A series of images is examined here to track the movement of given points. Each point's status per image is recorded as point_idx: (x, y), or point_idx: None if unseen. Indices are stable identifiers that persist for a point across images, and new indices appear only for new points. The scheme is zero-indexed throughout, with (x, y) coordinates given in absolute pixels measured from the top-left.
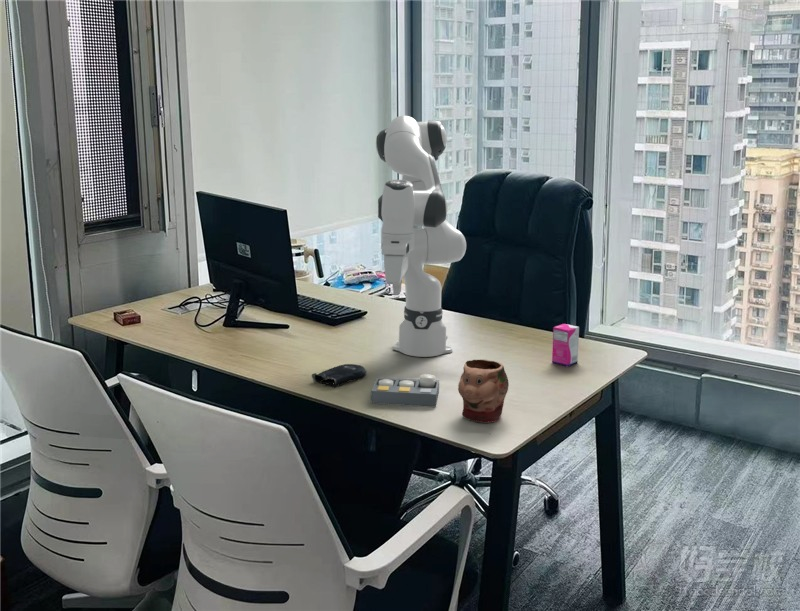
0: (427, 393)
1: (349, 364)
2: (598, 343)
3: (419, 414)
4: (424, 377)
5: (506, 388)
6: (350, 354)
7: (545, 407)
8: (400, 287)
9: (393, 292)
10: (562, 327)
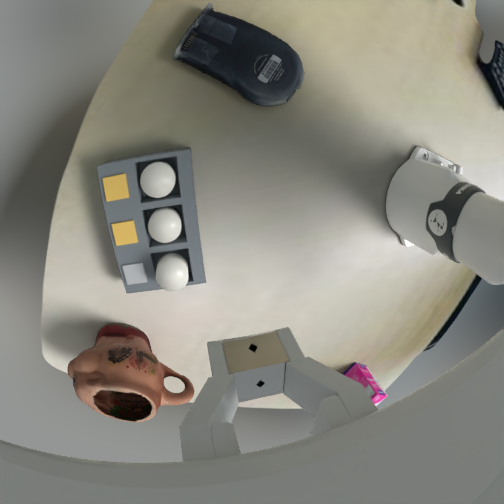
0: (124, 278)
1: (293, 65)
2: (402, 371)
3: (89, 262)
4: (163, 272)
5: (127, 400)
6: (387, 69)
7: None
8: (260, 395)
9: (209, 349)
10: (373, 401)
